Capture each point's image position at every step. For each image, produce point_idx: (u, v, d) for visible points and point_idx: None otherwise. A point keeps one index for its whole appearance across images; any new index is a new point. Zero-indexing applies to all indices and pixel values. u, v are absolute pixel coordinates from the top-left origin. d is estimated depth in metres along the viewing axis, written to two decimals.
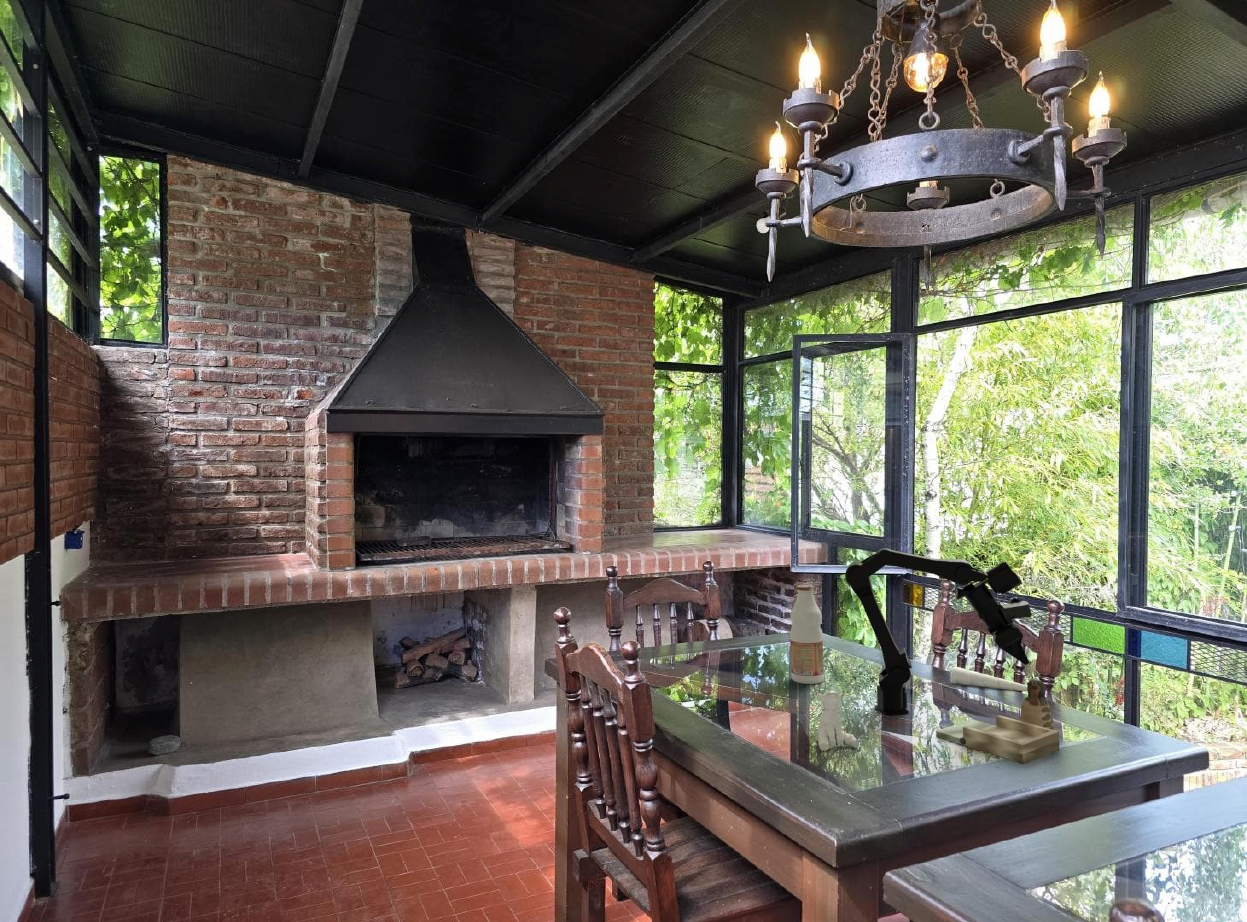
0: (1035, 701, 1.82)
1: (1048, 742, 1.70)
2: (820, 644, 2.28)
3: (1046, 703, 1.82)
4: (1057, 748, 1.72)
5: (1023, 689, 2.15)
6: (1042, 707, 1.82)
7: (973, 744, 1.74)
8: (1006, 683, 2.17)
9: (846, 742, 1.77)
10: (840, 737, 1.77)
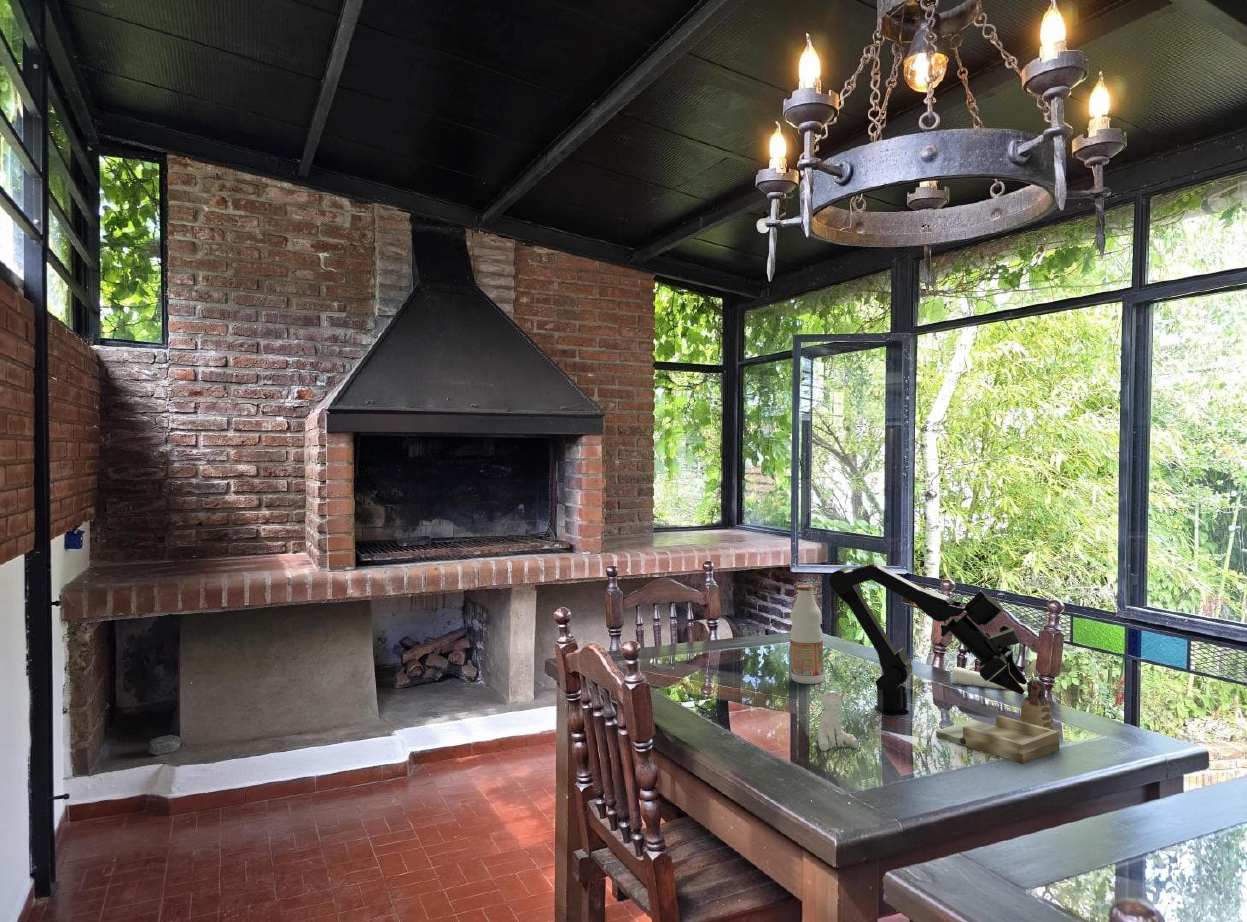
0: (1035, 701, 1.82)
1: (1048, 742, 1.70)
2: (820, 644, 2.28)
3: (1046, 703, 1.82)
4: (1057, 748, 1.72)
5: (1024, 689, 2.15)
6: (1042, 707, 1.82)
7: (973, 744, 1.74)
8: None
9: (846, 742, 1.77)
10: (840, 737, 1.77)
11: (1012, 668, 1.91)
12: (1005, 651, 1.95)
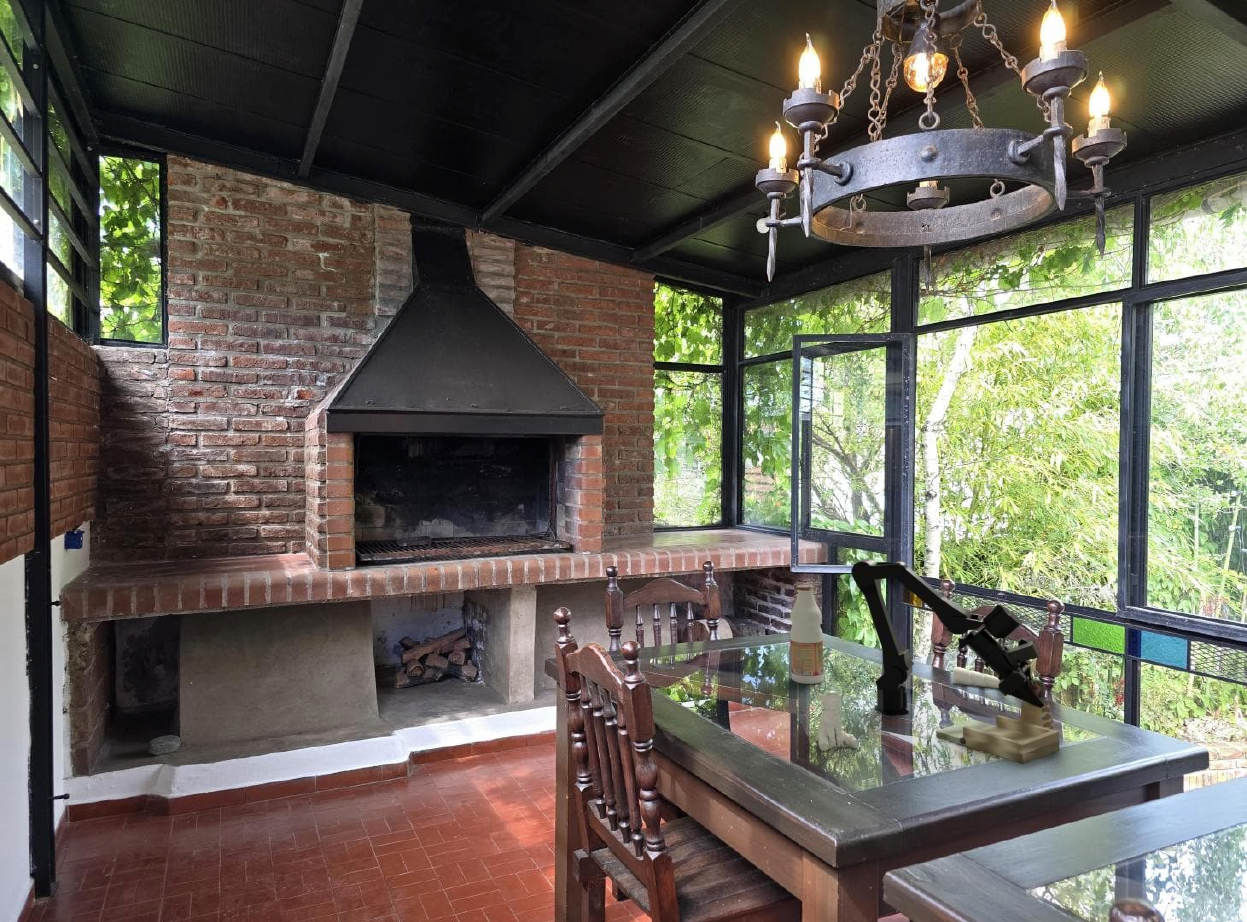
0: None
1: (1048, 742, 1.70)
2: (820, 644, 2.28)
3: (1046, 703, 1.82)
4: (1057, 748, 1.72)
5: None
6: (1042, 707, 1.82)
7: (973, 744, 1.74)
8: None
9: (846, 742, 1.77)
10: (840, 737, 1.77)
11: None
12: (1023, 665, 1.94)
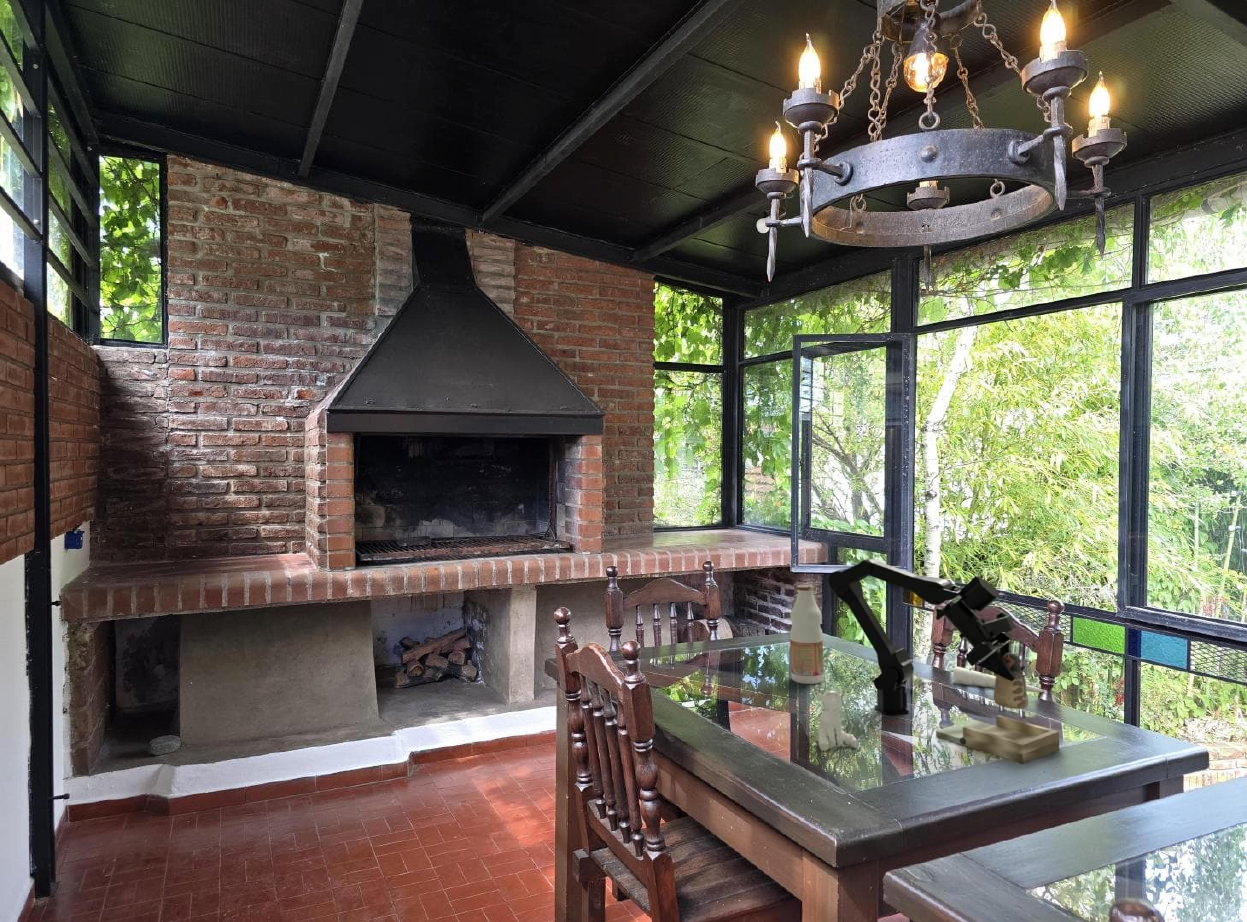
0: None
1: (1048, 742, 1.70)
2: (820, 644, 2.28)
3: (1019, 677, 1.80)
4: (1057, 748, 1.72)
5: None
6: (1014, 680, 1.80)
7: (973, 744, 1.74)
8: None
9: (846, 742, 1.77)
10: (840, 737, 1.77)
11: None
12: (1006, 639, 1.91)
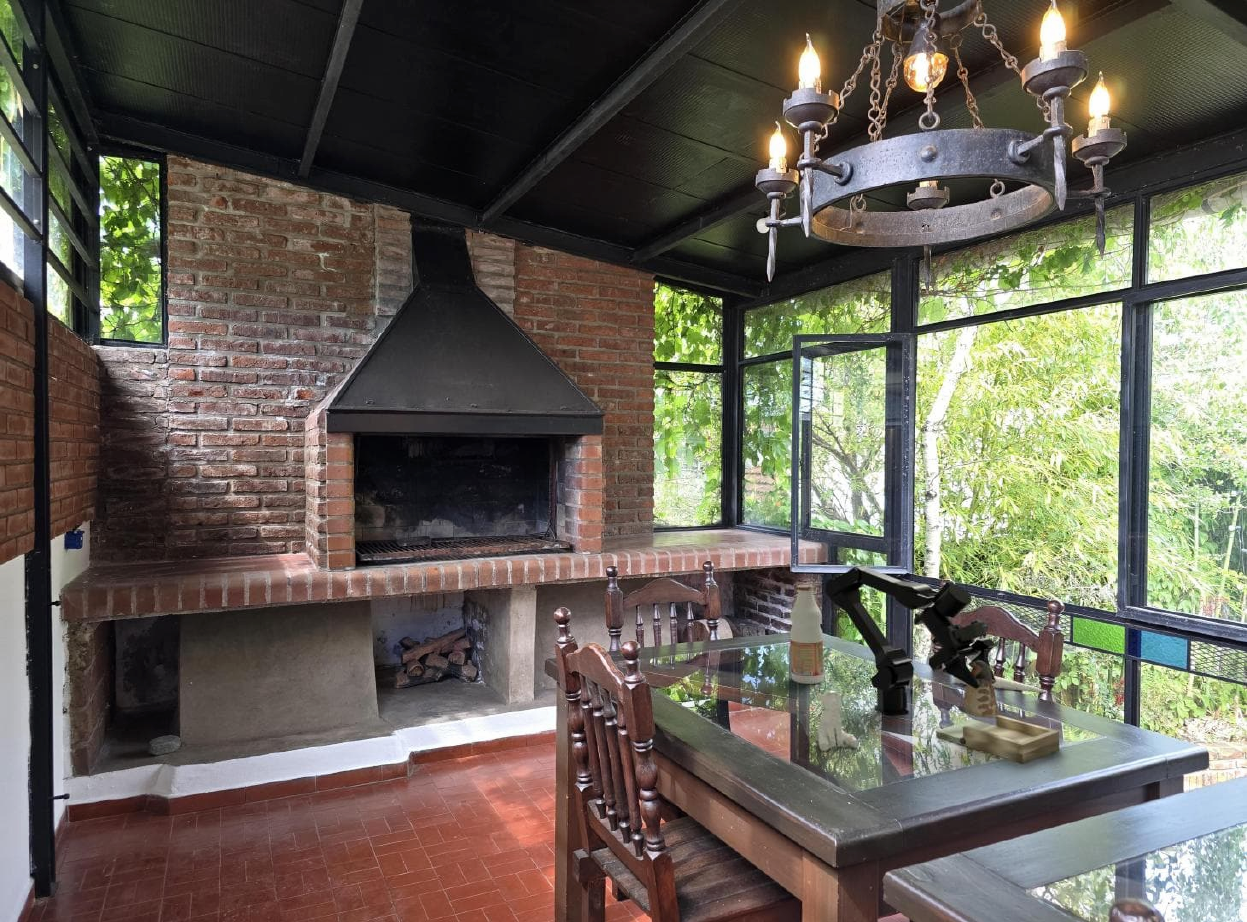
0: None
1: (1048, 742, 1.70)
2: (820, 644, 2.28)
3: (986, 685, 1.77)
4: (1057, 748, 1.72)
5: (1026, 689, 2.15)
6: (979, 688, 1.78)
7: (973, 744, 1.74)
8: (1009, 683, 2.17)
9: (846, 742, 1.77)
10: (840, 737, 1.77)
11: None
12: (989, 648, 1.87)
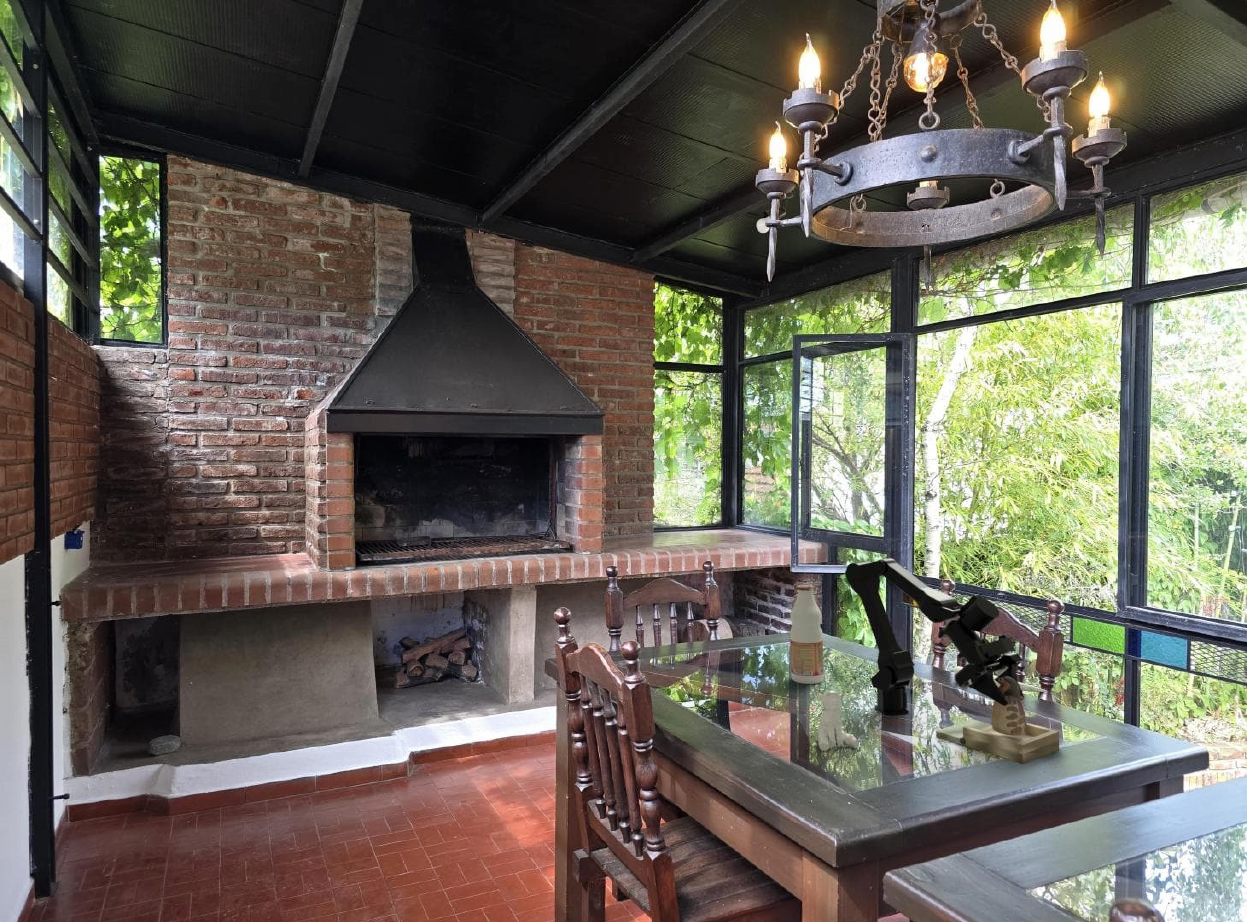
0: None
1: (1048, 742, 1.70)
2: (820, 644, 2.28)
3: (1014, 702, 1.72)
4: (1057, 748, 1.72)
5: (1026, 689, 2.15)
6: (1008, 705, 1.72)
7: (973, 744, 1.74)
8: None
9: (846, 742, 1.77)
10: (840, 737, 1.77)
11: None
12: (1016, 663, 1.82)
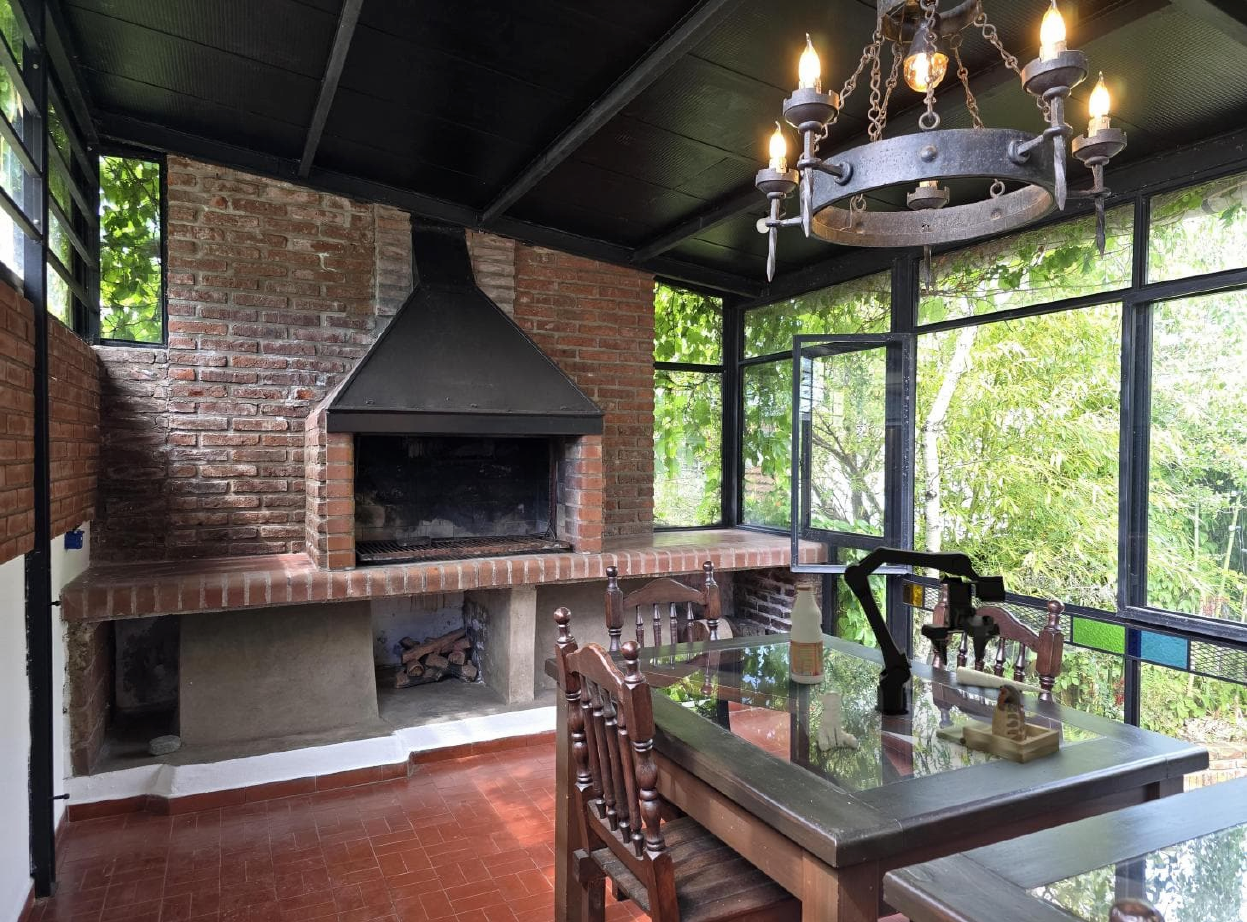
0: (1001, 706, 1.73)
1: (1048, 742, 1.70)
2: (820, 644, 2.28)
3: (1015, 710, 1.72)
4: (1057, 748, 1.72)
5: (1028, 689, 2.15)
6: (1008, 713, 1.72)
7: (973, 744, 1.74)
8: (1011, 683, 2.17)
9: (846, 742, 1.77)
10: (840, 737, 1.77)
11: (978, 645, 1.97)
12: None
